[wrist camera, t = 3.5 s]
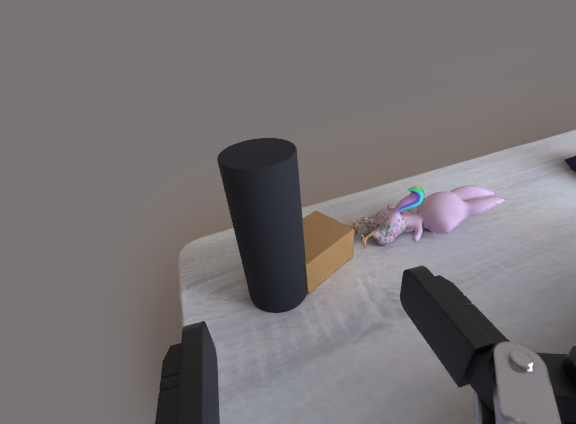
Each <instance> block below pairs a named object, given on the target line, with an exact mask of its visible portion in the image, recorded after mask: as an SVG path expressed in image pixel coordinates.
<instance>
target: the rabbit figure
mask: <svg viewBox="0 0 576 424" xmlns="http://www.w3.org/2000/svg"><path fill="white" fill-rule="evenodd" d="M407 191H410V192H412V193H411V194H410V195H408V196H407V197H405V198H404V199H402V200H401V201H400V202H399V203H398V204H397V206H393V205H388V206H387V209H389V210H385V211H381V212H379V213H377V214H376V215H375V216H373V217H370V218H365V217H363V218H361V220H360V221H358V222H357V223H355V221H353V222H354V225H353V226H354V230H355V231H356V233H357V234H358V232H357V231H358V230H357V228H358V225H359V224H360V223H364V224H365V225H366V226H367V228H368V230H369V231H370V234H368V235H367V236H366V237H364V236H363V235H361V236H362V242H361V243H362V244H363V245H364V246H365V247H364V249H365V248H366V240H367V239H368V238H369V237H370V236H373V237H374V239H375V241H376V242H377V243H378V244H380V245H388V244H390V243H391V242H393V241H394V240H395V239H396V238H397V237H398V236H399V235H400V234H401V233H402V232H411V231H413V230H415V232H416V234H415V235H414V236H413V238H412V240H413V241H415V242H416V241H418V240H419V238H420V236H421V234H422V227H423V228H426V229H429V230H430V231H431V232H435V233H438V234H444V233H448V232H450V231H451V230H452V229H453V228H455V227H456V226H457V225H458V224H459V223H460V222H461V221H462V220H463V219H465V218H466V217H469V216H473V215H476V214H478V213H480V212H483V211H485V210H487V209H488V208H490V207H492V206H494V205H497V204H499V203H503V202H505V199H503V198H496V197H485V196H489V195H494V194H495V193H494V192H493V191H490V190H488V189H486V188H483V187H479V186H463V187H459V188H456V189H454V190H452V191H451V192H450V193H449V192H438V193H434V194H432V195H429V196H427V197H426V198H424V191H423V189H422V188H421V187H419V186H415V187H411V188H410V189H408V190H407ZM480 197H482V198H480ZM416 206H418V207H417V213H411V212H409V211H407V210H405V209H411V208H414V207H416ZM399 214H401V215H399ZM356 233H355V234H356ZM357 234H356V235H357Z"/></svg>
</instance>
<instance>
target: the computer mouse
mask: <svg viewBox="0 0 576 424" xmlns="http://www.w3.org/2000/svg"><path fill="white" fill-rule="evenodd" d="M565 161H566V162H567V163H568V165H569V166H570V167H571V168H572V169H573V170H574V171H576V156H574V157H571V158H568V159H565Z"/></svg>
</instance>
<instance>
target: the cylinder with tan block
mask: <svg viewBox="0 0 576 424" xmlns="http://www.w3.org/2000/svg"><path fill="white" fill-rule="evenodd" d="M218 164H219V168H220V173H221V177H222V181H223V185H224V189H225V193H226V197H227V202H228V206H229V210H230V214H231V218H232V222H233V227H234V231H235V235H236V239H237V243H238V248H239V252H240V256H241V260H242V264H243V268H244V273H245V277H246V281H247V285H248V289H249V293H250V297H251V300H252V302H253V303H254V304H255V305H256V306H257V307H258V308H260V309H262V310H264V311H267V312H273V313H278V312H285V311H288V310H291V309H293V308H295V307H296V306H298V305H299V304H300V303H301V302H302V301H303V300H304V298H305V297H306V294H307V293H308V294H309V293H310V292H311V291H313V290H314V289H315V288H316V287H317V286H318V285H320V284H321V283H322V282H323V281H324V280H326V279H327V278H328V277H329V276H330V275H331V274H333V273H334V272H335V271H336V270H337V269H339V268H340V267H341V266H342V265H343V264H344V263H346V262H347V261H348V260H349V259H350V258H352V257H353V244H354V228H351V227H349V226H347V225H345V224H343V223H341V222H338V221H336V220H334V219H332V218H330V217H328V216H326V215H323V214H321V213H319V212H317V211H314V212H313V213H311V214H310V215H308V216H307V217H305V218H304V219H302V209H301V198H300V185H299V173H298V162H297V149H296V147H295V145H294V144H293V143H291V142H289V141H287V140H282V139H276V138H260V139H252V140H247V141H243V142H240V143H237V144H234V145H232V146H229V147H228V148H226V149H224V150H223V151H222V152H221V153H220V154H219V155H218Z"/></svg>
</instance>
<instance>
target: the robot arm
mask: <svg viewBox="0 0 576 424" xmlns="http://www.w3.org/2000/svg"><path fill="white" fill-rule="evenodd" d="M400 300H401V304H402V306H403V308H404V310H405V312H406V313H407V314H408V316H409V317H410V319H411V320H412V322H413V323H414V324H415V326H416V327H417V329H418V330H419V332H420V333H421V334H422V336H423V337H424V339H425V340H426V341H427V343H428V344H429V346H430V347H431V349H432V350H433V351H434V353H435V354H436V356H437V357H438V359H439V360H440V361H441V363H442V364H443V366H444V367H445V369H446V370H447V371H448V373H449V374H450V376H451V377H452V379H453V380H454V381H455V383H456V384H457V386H458V387H462V386H465V385H468V384H470V385H471V387H472V388H473V389H474V391H475V392H474V409H475V424H576V346H574V347H573V348H572V349H571V351H570V352H569V353H568V354H548V353H535V352H534V351H533V350H531V349H530V348H528V347H526V346H524V345H522V344H519V343H516V342H510V341H509V340H508V339H507V338H506V337H505V336H504V335H503V334H502V333H501V332H500V331H499V330H498V329H497V328H496V327H495V326H494V325H493V324H492V323H491V322H490V321H489V320H488V319H487V318H486V317H485V316H484V315H483V314H482V313H481V312H480V311H479V310H478V309H477V307H476V306H475V305H474V304H473V305H472V303H471V301H470V300H469V299H468V298H467V297H466V296H464V295H463V293H462V292H461V291H460V290H459V289H458V288H457V287H456V286H455V285H454V284H453V283H452V282H450V281H449V280H447V279H445V278H443V277H442V276H440V275H439V276H434V275H433V274H432V273H431V272H430V271H429V270H428V269H427V268H426V267H425V266H419V267H415V268H411V269H407V270H405V271H404V272H403V278H402V285H401V291H400ZM155 424H220V421H219V395H218V369H217V355H216V349H215V346H214V343H213V340H212V338H211V335H210V333H209V330H208V328H207V325H206V323H205V322H204V321H203V322H199V323H195V324H191V325H188V326H184V327H183V331H182V343H180V344H176V345H172V346H170V348H169V350H168V352H167V354H166V356H165V358H164V360H163V366H162V374H161V382H160V393H159V398H158V406H157V414H156V422H155Z"/></svg>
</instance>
